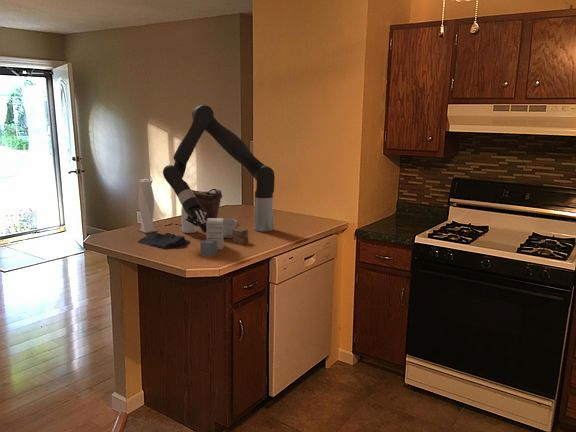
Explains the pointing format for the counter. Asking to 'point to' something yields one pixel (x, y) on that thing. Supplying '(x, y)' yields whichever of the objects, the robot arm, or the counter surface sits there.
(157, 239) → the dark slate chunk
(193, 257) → the counter surface
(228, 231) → the teacup
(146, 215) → the skyscraper
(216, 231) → the supplement box
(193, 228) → the milk bottle
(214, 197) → the wooden bucket
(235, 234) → the walnut block
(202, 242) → the slate-grey block
